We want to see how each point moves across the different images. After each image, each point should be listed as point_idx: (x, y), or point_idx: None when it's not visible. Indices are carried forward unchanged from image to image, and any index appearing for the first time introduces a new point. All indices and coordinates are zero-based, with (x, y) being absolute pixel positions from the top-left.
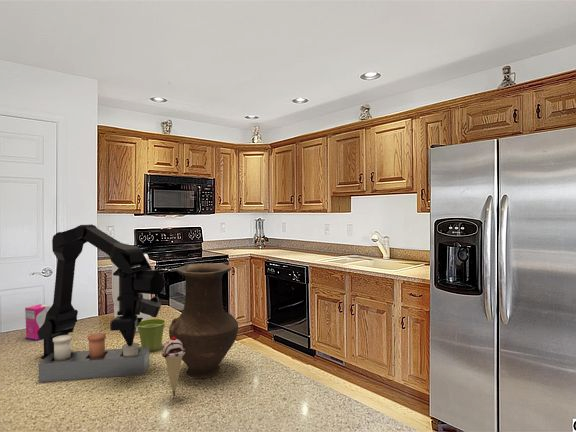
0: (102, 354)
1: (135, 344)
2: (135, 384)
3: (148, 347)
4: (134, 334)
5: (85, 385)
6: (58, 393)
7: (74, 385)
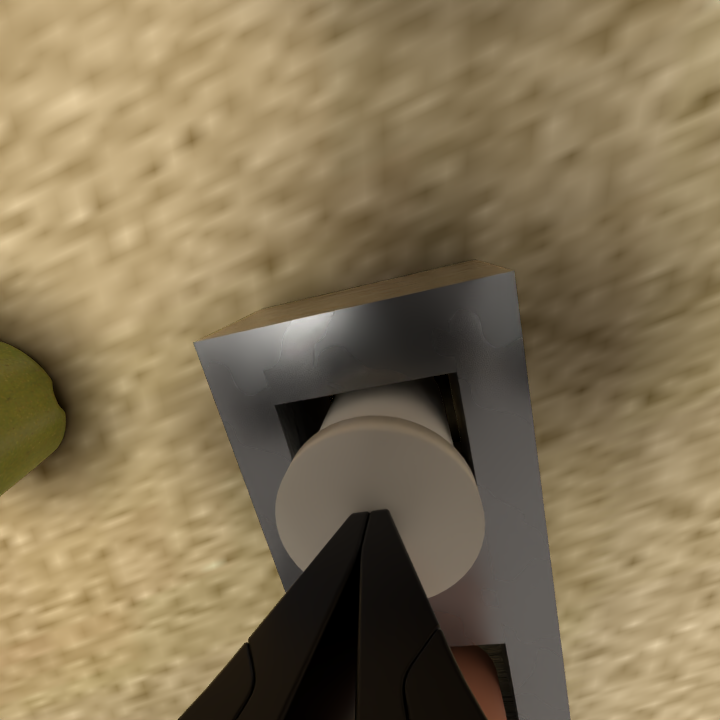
0: (465, 674)
1: (337, 479)
2: (664, 254)
3: (214, 343)
4: (313, 618)
5: (622, 568)
6: (713, 652)
7: (612, 619)
